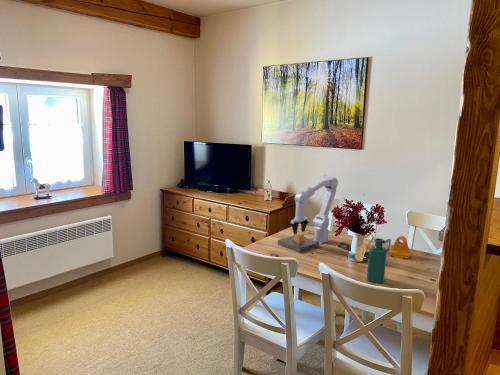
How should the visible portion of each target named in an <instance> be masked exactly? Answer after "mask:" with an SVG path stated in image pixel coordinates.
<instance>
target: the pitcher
mask: <svg viewBox="0 0 500 375" xmlns="http://www.w3.org/2000/svg"><path fill="white" fill-rule="evenodd" d="M391 240H392V239H391V238H387V239H383V238H381V237H380V238H379V237H377V238H373V241H374V245H370V247H369V250H368V252H369V257H368V263H367V270H366V280H367V281H368V282H372V283H377V284H383V283H384V282H385V275H386V274H385V272H386V264H387V255H388V254H387V253H388V251H390V247H391V243H392V242H391ZM383 244H388V245H387V247H384V246H383Z"/></svg>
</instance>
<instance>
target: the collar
mask: <svg viewBox="0 0 500 375" xmlns="http://www.w3.org/2000/svg"><path fill="white" fill-rule="evenodd" d="M277 245H278V246H281V247H283V248H285V249H288V250H291V251H294V252H295V253H304V252H307V251H310V250H313V249H316V248H319V247H320V244H319V242H317V241H314V240H313V239H311V238H309V237H305V236H304V242H302V243H297V242H294V235H292V236H287V237H283V238H281V239H277Z"/></svg>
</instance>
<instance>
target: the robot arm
mask: <svg viewBox="0 0 500 375" xmlns="http://www.w3.org/2000/svg"><path fill="white" fill-rule="evenodd" d="M338 185H339V181H338V178H336V177H333V176H327V175H324V176H322V177H321V178H320V180H318V181H317V182H316V183H315V184H314V185H312V186H307V187H306V188H305V189H304V190H302V191H301V192H298V193H296V194H295V195H294V197H293V199H294V201H295V217H294V218H293V219H292V220H290V223H289V224H290V226H291V228H292V233H293V234H297V233H298V228H299V225H300V228H301V229H300V230H301V233H305V232H306V230H307V229H306V228H307V226H308V224H309V217H308V216H305V214H306V212H305V211H306V203H307V202H308V200H309V198H311V197H313V196H314V195H315V192H317V191H318V190H320V189H321V188H323V187H324V188H325V189H326V191H327V192H326V194H325V196H324V199H323V203H322V206H321V207H320V211H319V213H318V214H316V215H315V217H314V218H313V219H312V225H313V226H314V227H313V228H314V234H313V235H314V238H313V239H312V240H314V241H317V242H319V245H322V244H325V243H327V242H330V240H329V229H328V228H329V224H330V218H329V213H330V211H331V207H332V205H333V200H334V198H335V195H336V193H337V188H338ZM298 223H300V224H298Z"/></svg>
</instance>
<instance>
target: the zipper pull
mask: <svg viewBox="0 0 500 375" xmlns="http://www.w3.org/2000/svg"><path fill="white" fill-rule="evenodd" d="M344 246H345V247H344ZM351 246H352V245H350V244H348V243H345V242H343V241H342V242H339V243H337V248H339V249H343V250H345V251H348V252H351ZM365 251H366V252H365V254H364V257H366V258H363V262H362V263H365V264H368V257H369V251H367V250H365Z"/></svg>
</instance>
